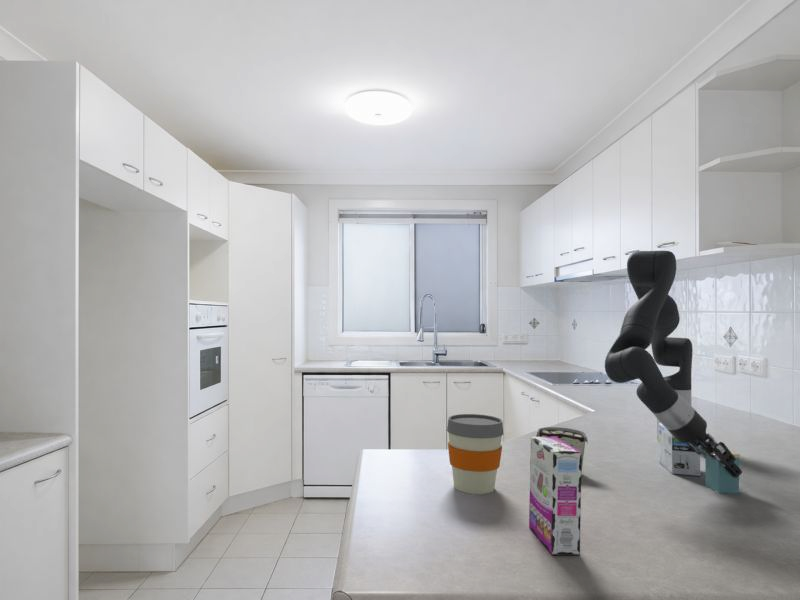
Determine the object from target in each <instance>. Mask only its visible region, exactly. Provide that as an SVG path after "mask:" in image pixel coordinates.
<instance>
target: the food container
mask: <svg viewBox="0 0 800 600" xmlns="http://www.w3.org/2000/svg"><path fill="white" fill-rule="evenodd" d="M535 437H556V438H557V439H559V440H561V441H562V442H564V443H566V444H568V445H569V446H571V447H573V448H575V449H576V450H578V451H580V452H582V466H581V474H582V472H583V465H584V462H583V461H584V457H585V456H584V455H585V454H584V453H585V447H586V446H585V445H586V443H587V445H588V444H589V443H588V442H589V441H588V437H587V434H586V432H584V431H581V430H578V429H574V428H568V427H560V426H558V427H557V426H547V427H540V428H538V430H537V432H536V435H535Z"/></svg>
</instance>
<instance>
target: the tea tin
mask: <svg viewBox="0 0 800 600" xmlns="http://www.w3.org/2000/svg"><path fill="white" fill-rule="evenodd" d="M729 451H730V452H731V453H732V454H733V456H734V457H735V458H736V460H735V461H734V463H735V464H736V465H737V466H738V467H739V468H740V458H741V454H740V453H737V452H735V451H732V450H730V449H729ZM711 454H712V455H713V454H714V451H713V452H712V453H711ZM704 459H705V460H704V461H705V476H704V477H705V479H704V480H705V484H704V485H706V486H705V487H707V486H708V487H707V488H709V489H711V490H712V491H715V492H716V491H717V493H718V492H719V494H727V493H728V494H739V493H740V475H739V476H738V477H737V478H735V477H733V476H732V475H731V474H730V473H729V472H728V471H727V470H726V469H725V468H724V467H723V466H722V465H721V464H720V463H719V462H717V461H716V460H715V459H711V458H710V457H709V456H708V455H706V457H705V458H704Z"/></svg>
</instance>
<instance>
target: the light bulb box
mask: <svg viewBox="0 0 800 600" xmlns="http://www.w3.org/2000/svg"><path fill="white" fill-rule="evenodd" d="M658 444H659V445H658V446H659V447H658V450H659V451H658V452H659V453H658V458H659V460H658V463H660V464H661V465H662V466H663V467H664V468H666V469H667V470H668V472H670V473H671V475H672V474H673V475H674V474H675V475H686V476H696V477H697V476H699V477H700V476H701V455H699V454H697V453H696V452H695V451H694V450H693V449H692V448H691V447H690V446H689V445H688V444H687V443H681V442H679V441H678V440H677V439H676V438H675V437H674V436H673V435H672V434H671V433H670V432H669V431H668V430H667V429H666V428H665V427H664V426H663V425H662V424H661V423H659V442H658Z"/></svg>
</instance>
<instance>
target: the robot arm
mask: <svg viewBox="0 0 800 600" xmlns="http://www.w3.org/2000/svg"><path fill="white" fill-rule="evenodd" d="M626 271H627V276H628V279H629V283H630V284H631V286H632V289H633V291H634V293H635V295H636V298H637V299H638V300H637V301H636V302H634V303H633V304H632V306H630V308H629V309H628V310H627V312H626V314H625V315H624V319H623V320H622V321H623V322H622V324H621V328H620V332H619V335H618V337H617V338H616V339H615V340H614V343H613V344H612V345H611V347H610V349H609V351H608V352H607V353H606V354H607V355H606V357H605V360H604V370H605V374H606V375H607V377H608V378H609V379H610V380H611V381H612V382H614V383H618V384H624V383H627V382H630V381H635V380H640V381H641V383H640V384H639V385H638V386H637V389H636V396H637V398H638V399H639V400H640V401H641V403H643V405H645V406H646V408H647V409H648V410H649V411H650V412H651V413H652V414H653V416H655V418H656V439H657V441H658V443H659V423H661V424H662V425H663V426H664V427H665V428H666V429H667V430H668V431H669V432H670V433H671V434H672V435H673V436H674V437H675V438H676V439H677V440H678V441H679V442H681V443H687V444H688V445H689V446H690V447H691V448H692V449H693V450H694V451H695V452H696V453H697V454H699V455H700V456H702V457H703V459H705V457H706V455H708V456H709V457H710V458H711V459H715V460H716V461H717V462H719V463H720V464H721V465H722V466H723V467H724V468H725V469H726V470H727V471H728V472H729V473H730V474H731V475H732V476H733V477H735V478H737V477H738V476H739V477H740V475H742V473H743V470H742V469H741V468H740V466H739V467H738V466H737V465H736V464H735V463H734V461H735V460H736V458H735V457H734V456H733V454H732V453H731V452H730V451H731V450H730V449H729V448H728V447H727V445H726V444H725V443H724V442H722V441H719V442H717V441H716V440H715V437H713V435H711V434H710V433H707V427H708V424H707V420H705V419H704V418H703V417H702V416H701V415H700V414H699V413H698V412H697V410H696V409H695V408H693V406H692V403H693V402H692V370H693V369H692V368H693V366H692V365H693V354H694V351H693V343H692V341H691V339H690V338H686V337H670V335H671V334H672V333H673V332H675V330H676V329H678V327H679V324H680V320H681V319H680V318H681V317H680V313H679V307H678V304H677V303H676V301H675V300H674V298H673V297H672V296H670V293H669V292H670V291H671V288H672V286H673V284H674V282H675V281H674V280H675V278H676V274H677V260H676V255H675V254H674V252H672V251H669V250H638V251H635V252H632V253H631V254H630V255H629V256H628V258H627V262H626ZM650 346H651V352H652V354H651V353H650V352H649V351H648V350H646V349H648V348H649V347H650ZM652 355H653V356H652ZM658 365H659V366H661V367H662V366H663V367H673V368H674V367H677V368H679V370H678V371H677V372H675V373H674V374H671V375H667V376H664V375H663V374H662V372H661V370H660V368H659V367H658ZM729 450H730V451H729ZM713 451H714V454H713V455H712V454H711V453H712V452H713Z"/></svg>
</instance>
